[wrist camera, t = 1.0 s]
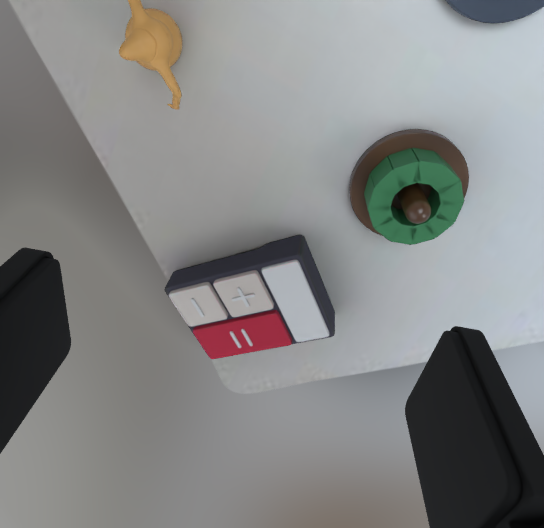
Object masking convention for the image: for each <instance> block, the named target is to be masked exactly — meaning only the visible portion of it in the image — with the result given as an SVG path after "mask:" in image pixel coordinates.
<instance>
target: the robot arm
mask: <svg viewBox="0 0 544 528" xmlns="http://www.w3.org/2000/svg"><path fill="white" fill-rule="evenodd" d="M70 346H71V337H70V330H69V323H68V316H67V310H66V303H65V296H64V290H63V283H62V276H61V269H60V264H59V262H58V260H56V259H54V258H53V256H52V254H51V253H50V252H46V251H41V250H35V249H30V248H22V249H21V250H19V251H18V252H16V253H15V254H14V255H13V256H12V257H11V258H10V259H8V260H7V261H6V262H5V263H4V264H3V265H2V266H0V453H1V452H2V450H3V449H4V448H5V446H6V445H7V443H8V442H9V440H10V439H11V437H12V436H13V434H14V433H15V431H16V430H17V428H18V427H19V425H20V424H21V423H22V421H23V420H24V418H25V417H26V415H27V414H28V412H29V410H30V409H31V408H32V406H33V405H34V403H35V402H36V400H37V399H38V397H39V396H40V394H41V393H42V392H43V390H44V389H45V387H46V386H47V384H48V383H49V381H50V380H51V378H52V377H53V375H54V374H55V372H56V371H57V369H58V368H59V366H60V365H61V363H62V362H63V361H64V359H65V358H66V356H67V354H68V352H69V350H70ZM405 415H406V420H407V425H408V429H409V434H410V438H411V443H412V447H413V452H414V457H415V461H416V466H417V470H418V475H419V479H420V484H421V489H422V493H423V498H424V502H425V507H426V512H427V516H428V521H429V526H430V528H544V455H543V453H542V451H541V449H540V447H539V445H538V443H537V441H536V439H535V437H534V435H533V433H532V431H531V429H530V427H529V425H528V423H527V421H526V419H525V417H524V415H523V413H522V411H521V409H520V407H519V405H518V403H517V401H516V399H515V397H514V395H513V393H512V391H511V389H510V387H509V385H508V383H507V380H506V378H505V377H504V374H503V373H502V371H501V368H500V366H499V365H498V362H497V361H496V358H495V356H494V355H493V352H492V350H491V348H490V346H489V344H488V342H487V340H486V338H485V336H484V335H483V333H482V332H481V331H479V330H474V329H469V328H463V327H458V326H456V327H453V328H452V329H451V330H450V331H445V332H444V333H443V334H442V336H441V338H440V340H439V342H438V344H437V345H436V347H435V349H434V351H433V353H432V355H431V357H430V358H429V360H428V362H427V364H426V366H425V368H424V370H423V372H422V374H421V375H420V377H419V379H418V381H417V383H416V385H415V387H414V389H413V390H412V392H411V394H410V396H409V398H408V400H407V403H406V407H405Z"/></svg>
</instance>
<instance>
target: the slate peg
mask: <svg viewBox="0 0 544 528" xmlns="http://www.w3.org/2000/svg"><path fill="white" fill-rule="evenodd" d="M446 1H447V3H448V4H449V5H450V6H451V7H452V8H453V9H454V10H455V11H457V12H458V13H460V14H461V15H463V16H465V17H467V18H470V19H473V20H476V21H480V22H485V23H504V22H509V21H514V20H517V19H520V18H523V17H525V16H527V15H530V14H532V13H534V12H535V11H537V10H539V9H541V8H542V7H544V0H446Z"/></svg>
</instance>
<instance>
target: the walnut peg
mask: <svg viewBox="0 0 544 528" xmlns="http://www.w3.org/2000/svg"><path fill="white" fill-rule="evenodd" d="M408 148H411V149H412V148H418V149H424V150H430V151H434V152H436V153H437V154H438V155H440V156H441V157H442V158H443V159H444V160H445V161H446V162H447V163H448V164H449V165H450V166H451V167H452V169H453V170H454V172H455V173H456V174H457V176H458V177H459V178H460V180H461V184H462V190H463V196H464V198H465V195H466V192H467V188H468V181H469V174H468V168H467V164H466V161H465V159H464V157H463V155H462V154H461V152H460V151H459V150H458V148H457V147H456V146H455V145H454V144H453V143H452V142H451V141H450V140H448V139H447V138H446V137H444V136H442V135H440V134H438V133H435V132H432V131H428V130H421V129H410V130H403V131H399V132H396V133H393V134H390V135H388V136H386V137H384V138H382V139H380V140H379V141H377V142H376V143H374V144H373V145H372V146H371V147H370V148H369V149H367V150H366V151H365V153H364V154H363V155H362V156H361V158H360V159H359V161H358V162H357V164H356V166H355V168H354V170H353V173H352V176H351V180H350V198H351V203H352V207H353V210H354V212H355V214H356V216H357V217H358V219H359V220H360V221H361V222H362V223H363V224H364V225H365V226H366V227H367V228H368V229H370V230H371V231H373V232H375V233H377V234H380V233H379V232H378V231H376V230H375V229H374V227H373V226H372V222H371V219H370V216H369V212H368V209H367V205H366V200H365V196H364V191H365V188H366V184H367V181H368V178H369V174H370V173H371V171H372V170H373V169H374V168H375V167H376V166H377V165H378V164H379V163H380V162H381V161H382V160H383V159H384V158H385V157H386V156H388V155H390V154H393V153H396V152H399V151H402V150H405V149H408ZM431 190H432V187H431V186H430V185H427V184H421V183H415V184H411V185H408V186H405V187H403V188H402V189H401V190H400V191H399V192H398V193H397V194H396V195H395V196H394V198H393V201H392V204H391V205H392V206H393V207H395V208H396V209H403V211H404V213H405V216H406V218H407V219H408V220H409V221H410V222H412V223H415V224H420V223H423V222H425V221H427V220H428V218H429V217H430V215H431V206H430V204H429V202H428V200H427V199H428V197H429V195H430V192H431ZM380 235H381V234H380ZM382 236H383V235H382Z"/></svg>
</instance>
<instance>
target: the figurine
mask: <svg viewBox="0 0 544 528" xmlns="http://www.w3.org/2000/svg"><path fill="white" fill-rule="evenodd" d="M128 2H129V4H130V7H131V11H132V17H131V19H130V20H129V22H128V24H127V27H126V33H125V38H126V40H125V41H124V42H123V43H122V45H121V47H120V49H119V54H120V56H121V57H122V58H123V59H126V60H131V61H137V62H138V63H139V64H140V65H141V66H143V67H145V68H147V69H150V70H156V71H158V72H159V73H160V74H161V76H162V77H163V79H164V81H165V83H166V84H167V86H168V87H169V89H170V90H171V91H172V93H173V99H172V103H173V105H172V104H168V105H169V106H170V107H171V108H173V109H179V104H180V98H181V91H180V88H179V86H178V83H177V81H176V79H175V77H174V75H173V73H172V72H171V69H170V67H171V66H172V65H174V64H175V63H176V61H177V60H178V58H179V56H180V54H181V50H182V36H181V33H180V30H179V28H178V26H177V24H176V23H175V21H174V20H173V19H172V18H171V17H170V16H169V15H168V14H166V13H165V12H163V11H160V10H158V9H152V8H148V9H144V8H143V6H142V4H141V1H140V0H128Z"/></svg>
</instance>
